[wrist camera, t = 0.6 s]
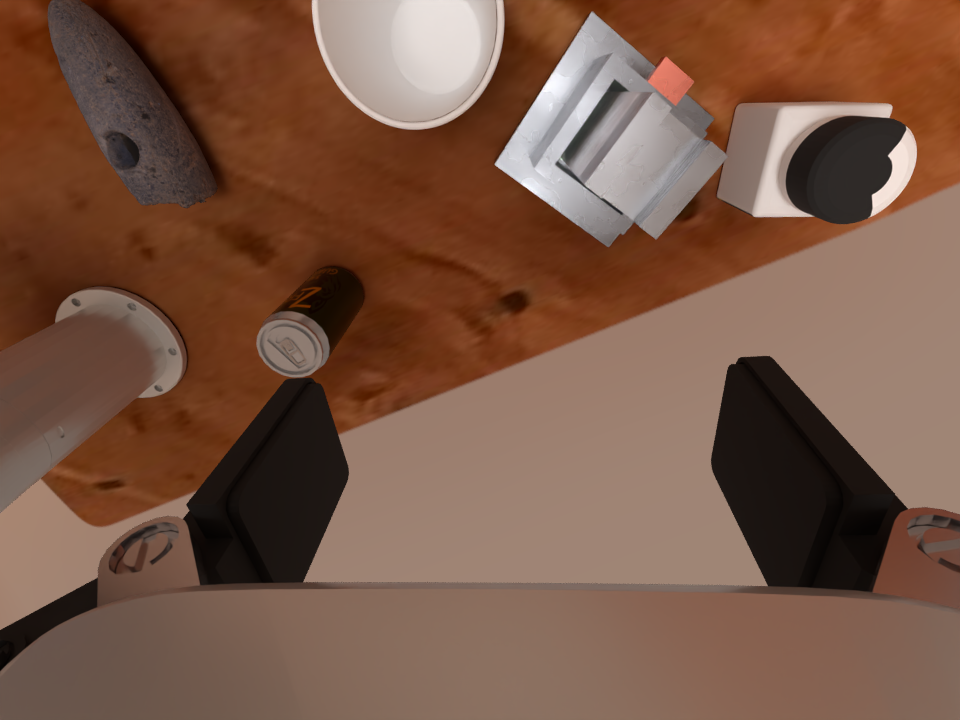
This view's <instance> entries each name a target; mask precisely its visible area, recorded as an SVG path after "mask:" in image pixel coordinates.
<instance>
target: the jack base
mask: <svg viewBox="0 0 960 720" xmlns="http://www.w3.org/2000/svg"><path fill="white" fill-rule="evenodd" d="M693 83H694V81H693V80H692V79H691V78H689V77H688V76H687V75H686V74H685V73H684V72H683V71H682V70H680V69H679V68H678V67H677V66H676V65H675V64H674V63H673V62H671V61H670V60H669V59H668V58H667V57H662V58H661V59H660V61H659V62H658V64H657V65H656V66H654V65H653V64H651V63H650V62H649V61H648V60H647V59H646V58H645V57H643V56H642V55H641V54H640V53H639V52H638V51H637V50H635V49H634V48H633V47H632V46H631V45H630V44H629V43H627V42H626V41H625V40H624V39H623V38H622V37H621V36H619V35H618V34H617V33H616V32H615V31H614V30H613V29H611V28H610V27H609V26H608V25H607V24H606V23H605V22H603V21H602V20H601V19H600V18H599V17H598V16H597V15H596V14H594V13H593V12H591V13H590V14H589V15H588V16H587V18H586V19H585V21H584V23H583V24H582V26H581V27H580V29H579V30H578V32H577V34H576V35H575V37H574V38H573V40H572V41H571V43H570V45H569V46H568V48H567V49H566V51H565V53H564V54H563V56H562V57H561V59H560V60H559V62H558V64H557V65H556V67H555V68H554V70H553V71H552V73H551V75H550V76H549V78H548V79H547V81H546V82H545V84H544V86H543V87H542V89H541V90H540V92H539V93H538V95H537V97H536V98H535V100H534V101H533V103H532V104H531V106H530V108H529V109H528V111H527V112H526V114H525V115H524V117H523V119H522V120H521V122H520V123H519V125H518V126H517V128H516V130H515V131H514V133H513V134H512V136H511V137H510V139H509V141H508V142H507V144H506V145H505V147H504V148H503V150H502V152H501V153H500V155H499V156H498V158H497V159H496V161H495V164H494V165H496V166H497V167H498V168H500V169H501V170H503V171H504V172H505V173H507V174H508V175H509V176H511V177H512V178H514V179H515V180H516V181H518V182H519V183H520V184H522V185H523V186H525V187H526V188H527V189H529V190H530V191H531V192H533V193H534V194H536V195H537V196H538V197H540V198H541V199H542V200H544V201H545V202H547V203H548V204H549V205H551V206H552V207H553V208H555V209H556V210H558V211H559V212H560V213H562V214H563V215H564V216H566V217H567V218H569V219H570V220H571V221H573V222H574V223H575V224H577V225H578V226H580V227H581V228H582V229H584V230H585V231H586V232H588V233H589V234H591V235H592V236H593V237H595V238H596V239H597V240H599V241H600V242H602V243H603V244H604V245H606V246H607V247H609V246H610V245H611V244H612V243H613V241H614V240H615V239H616V238H617V236H618V235H619V234H620V233H621V234H622V235H624V234H625V232H626V231H627V230H628V229H629V228H630V226H631V225H632V224H633V223H634V221H633V220H632V219H631V218H629V217H628V216H627V215H625V214H624V213H623V212H621V211H620V210H619V209H617V208H616V207H615V206H613V205H612V204H611V203H609V202H608V201H607V200H606V199H604V198H601V197H600V196H598V195H597V194H596V193H594V192H593V191H592V190H590V189H589V188H588V187H586V186H585V185H584V184H583V183H582V182H581V181H580V179H579V178H578V177H577V176H576V175H575V174H574V172H573V171H572V170H571V169H570V168H569V167H568V165H567V164H566V163H565V162H564V161H563V160H562V159H561V158H560V156H561V155H562V153H563V152H564V151H565V149H566V148H567V146H568V145H569V143H570V142H571V141H572V139H573V138H574V136H575V135H576V133H577V132H578V131H579V129H580V128H581V126H582V125H583V123H584V122H585V121H586V119H587V118H588V116H589V115H590V113H591V112H592V111H593V109H594V108H595V106H596V105H597V103H598V102H599V101H600V99H601V98H602V96H603V95H604V93H605V92H654V93H655V94H656V95H658V96H659V97H660V98H661V99H662V100H663V101H665V102H666V103H667V104H668V105H669V106H670V107H672V109H671V110H670V113H671V114H672V115H673V116H674V117H676V118H677V119H678V120H679V121H680V122H682V123H683V124H684V125H685V126H686V127H687V128H689V129H690V130H691V131H692V132H693V133H694V134H696V135H697V136H698V137H699V138H700V139H703V138H704V137H705V136H706V135H707V134H708V133H707V132H705V130H706V128H707V127H708V126H709V125H710V124H711V122H712V121H713V120H714V118H713V117H712V116H711V115H710V114H709V113H707V112H706V111H705V110H704V109H703V108H702V107H701V106H699V105H698V104H697V103H696V102H695V101H694V100H693V99H691V98H690V97H689V96H688V95H687V94H686V92H687V91H688V89H689V88H690V87H691V85H692V84H693Z"/></svg>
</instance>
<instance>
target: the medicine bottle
mask: <svg viewBox="0 0 960 720" xmlns="http://www.w3.org/2000/svg"><path fill="white" fill-rule="evenodd" d="M891 112H892V105H890V104H887V103H858V102H777V103H741V104H739V105H738V106H737V107H736V109H735V114H734V119H733V123H732V128H731V132H730V137H729V141H728V146H727V151H726V155H727V156H728V158H727V159H726V160H725V161H724V164H723V169H722V173H721V178H720V183H719V187H718V192H717V198H718V199H720V200H722V201H724V202H726V203H728V204H730V205H732V206H734V207H736V208H738V209H740V210H742V211H744V212H746V213H748V214H749V215H751V216H754V217H817V218H820V219H822V220H825V221H827V222H830V223H835V224H850V223H855V222H859V221H862V220H865V219H867V218H869V217H871V216H873V215H875V214H877V213H878V212H880V211H882V210H883V209H884V208H886V207H887V206H888V205H889V204H890V203H891V202H893V201H894V200H895V199H896V198H897V197H898V195H899V194H900V193H901V192H902V191H903V189H904V188H905V186H906V185H907V183H908V181H909V180H910V178H911V175H912V173H913V170H914V167H915V164H916V158H917V147H916V141H915V139H914V136H913V134H912V132H911V131H910V130H909V129H908V127H907V126H906V125H904V124H903V123H901V122H899V121H897V120H895V119H890V118H889V117H890V115H891Z"/></svg>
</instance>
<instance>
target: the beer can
mask: <svg viewBox="0 0 960 720" xmlns="http://www.w3.org/2000/svg"><path fill="white" fill-rule="evenodd" d="M363 299H364V295H363V289H362V287H361V285H360V283H359V281H358V279H357V278H356V277H355V276H354V275H353V274H352V273H350V272H349V271H347V270H345V269H342V268H338V267H324V268H321V269H319V270H317V271H316V272H315V273H314V274H313V275H312V276H310V277H309V278H308V279H307V280H306V281H305V282H304V283H303V284H302V285H301V286H300V287H299V288H298V289H297V290H296V291H295V292H294V293H293V294H292V295H291V296H290V297H289V298H288V299H287V300H286V301H284V302H283V303H282V304H281V305H280V306H279V307H278V308H277V309H276V310H275V311H274V312H273V313H272V314H271V315H270V316H269V317H268V318H267V319H266V320H265V321H264V322H263V324H262V326H261V328H260V331H259V334H258V336H257V349H258V352H259V355H260V356H261V358H262V359H263V361H264V362H265V363H266V364H267V365H268V366H269V367H270V368H271V369H272V370H274V371H276V372H278V373H280V374H282V375H285V376H289V377H304V376H307V375H310V374H312V373H313V372H314V371H316V370H318V369H319V368H320V367H321V366H323V365H324V364H325V362H326V361H327V359H328V358H329V356H330V355H331V353H332V352H333V350H334V348H335V347H336V345H337V344H338V342H339V341H340V339H341V338H342V336H343V335H344V333H345V332H346V330H347V329H348V327H349V326H350V324H351V323H352V321H353V320H354V318H355V316H356V315H357V313H358V312H359V310H360V308H361V307H362V305H363Z"/></svg>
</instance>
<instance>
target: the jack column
mask: <svg viewBox="0 0 960 720" xmlns="http://www.w3.org/2000/svg"><path fill="white" fill-rule="evenodd" d="M671 109H672V107H670V106H669V105H668V104H667V103H666V102H665V101H663V100H662V99H661V98H660V97H659V96H658V95H656V94H655V93H654V92H605V93H604V95H603V96H602V98H601V99H600V101H599V102H598V103H597V105H596V106H595V108H594V109H593V111H592V112H591V113H590V115H589V116H588V118H587V119H586V121H585V122H584V123H583V125H582V126H581V128H580V129H579V131H578V132H577V133H576V135H575V136H574V138H573V139H572V141H571V142H570V143H569V145H568V146H567V148H566V149H565V151H564V152H563V153H562V155H561V156H560V158H561V159H562V160H563V161H564V162H565V163H566V164H567V165H568V167H569V168H570V169H571V170H572V171H573V172H574V174H575V175H576V176H577V177H578V178H579V179H580V181H581V182H582V183H583V184H584V185H585V186H586V187H588V188H589V189H590V190H592V191H593V192H594V193H596V194H597V195H598V196H600V197H601V198H604V199H606V200H607V201H608V202H609V203H611V204H612V205H613V206H615V207H616V208H617V209H619V210H620V211H621V212H623V213H624V214H625V215H627V216H628V217H629V218H631V219H632V220H633V221H634V222H635V223H636V224H637V225H638V226H639V227H640V228H642V229H643V230H644V231H646V232H647V233H648V234H650V235H651V236H652V237H654V238H655V239H657V238H658V237H659V236H660V235H661V233H662V232H663V231H664V230H665V229H666V228H667V227H668V225H669V224H670V223H671V222H672V221H673V220H674V219H675V217H676V216H677V215H678V214H679V213H680V212H681V210H682V209H683V208H684V207H685V206H686V205H687V204H688V202H689V201H690V200H691V199H692V198H693V197H694V196H695V194H696V193H697V192H698V191H699V190H700V189H701V187H702V186H703V185H704V184H705V183H706V182H707V181H708V179H709V178H710V177H711V176H712V175H713V174H714V173H715V171H716V170H717V169H718V168H719V167H720V166H721V164H722V163H723V162H724V161H725V160H726V159H727V158H728V156H727V155H726V154H725V153H724V152H723V151H722V150H720V149H719V148H718V147H717V146H716V145H715V144H713V143H712V142H711V141H707V140H703V139H700V138H699V137H698V136H697V135H696V134H694V133H693V132H692V131H691V130H690V129H689V128H687V127H686V126H685V125H684V124H683V123H682V122H680V121H679V120H678V119H677V118H676V117H674V116H673V115H672V114H671V113H670V110H671Z"/></svg>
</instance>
